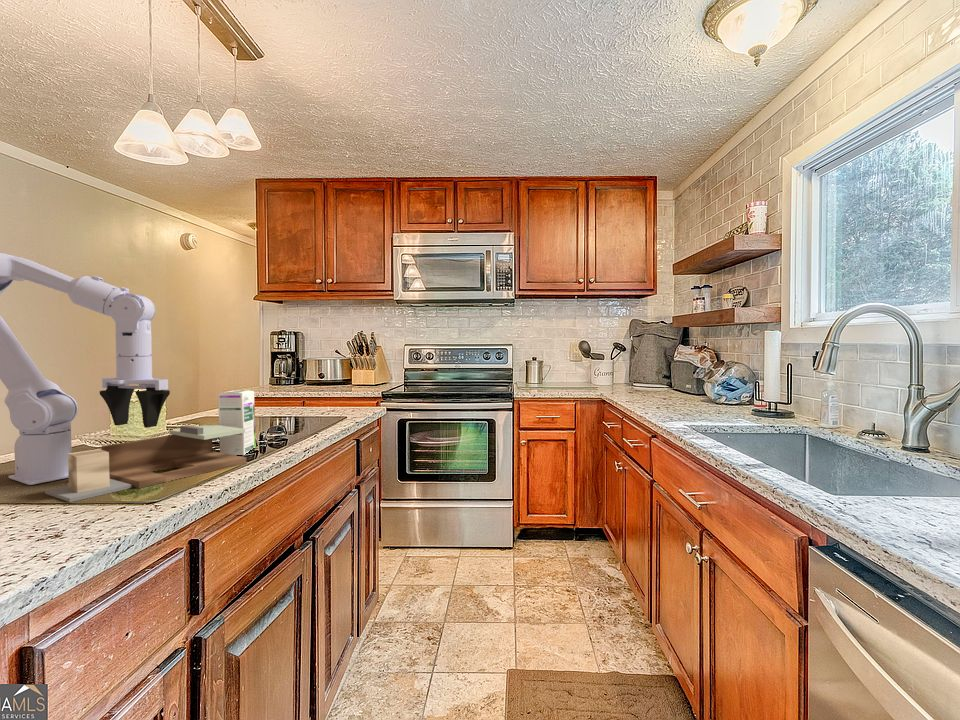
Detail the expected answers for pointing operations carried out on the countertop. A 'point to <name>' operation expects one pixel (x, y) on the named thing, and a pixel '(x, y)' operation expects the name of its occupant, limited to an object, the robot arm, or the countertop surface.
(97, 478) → the block
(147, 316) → the robot arm
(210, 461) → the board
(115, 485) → the mat
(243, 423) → the syrup box
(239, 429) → the cover
